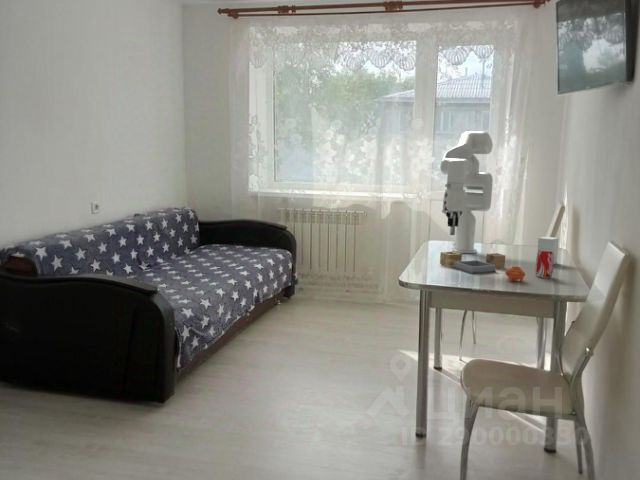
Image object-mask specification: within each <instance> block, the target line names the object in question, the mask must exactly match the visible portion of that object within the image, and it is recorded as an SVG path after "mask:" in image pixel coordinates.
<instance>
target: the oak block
mask: <svg viewBox="0 0 640 480" xmlns="http://www.w3.org/2000/svg"><path fill="white" fill-rule="evenodd" d="M439 256H440V259H439V265H440V264H441V265H440V266H443V265H444V267H446V266H447V267H446V268H454V262H458V261H463V258H462V257H463V253H458V252H454V251H453V250H452V251H440V255H439Z"/></svg>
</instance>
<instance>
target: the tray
mask: <svg viewBox="0 0 640 480" xmlns="http://www.w3.org/2000/svg"><path fill="white" fill-rule="evenodd" d="M453 269H455V270H458V271H462V272H465V273H468V274H471V275H475V274H487V273H489V274H490V273H496V271H497V269H496V265H493V264H489V263H486V261H482V260H478V259H474V260H462V261H458V262H454V267H453Z"/></svg>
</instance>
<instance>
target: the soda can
mask: <svg viewBox="0 0 640 480" xmlns="http://www.w3.org/2000/svg"><path fill="white" fill-rule="evenodd" d="M535 259H536V260H535V271H534V272H535V276H537V277H538V278H541V279H549V278H551V277H553V271H554V264H553V262H554V253H553V250H551V249H539V251H538V250H537V252H536V258H535Z"/></svg>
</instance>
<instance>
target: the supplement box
mask: <svg viewBox="0 0 640 480" xmlns="http://www.w3.org/2000/svg"><path fill="white" fill-rule="evenodd" d="M559 241H560V239H559V237H552V236H541V237H538V241H537V252H538V251H539V249H551V250H553V253H554V262H553V265H556V264H557V262H558V251H559Z"/></svg>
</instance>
